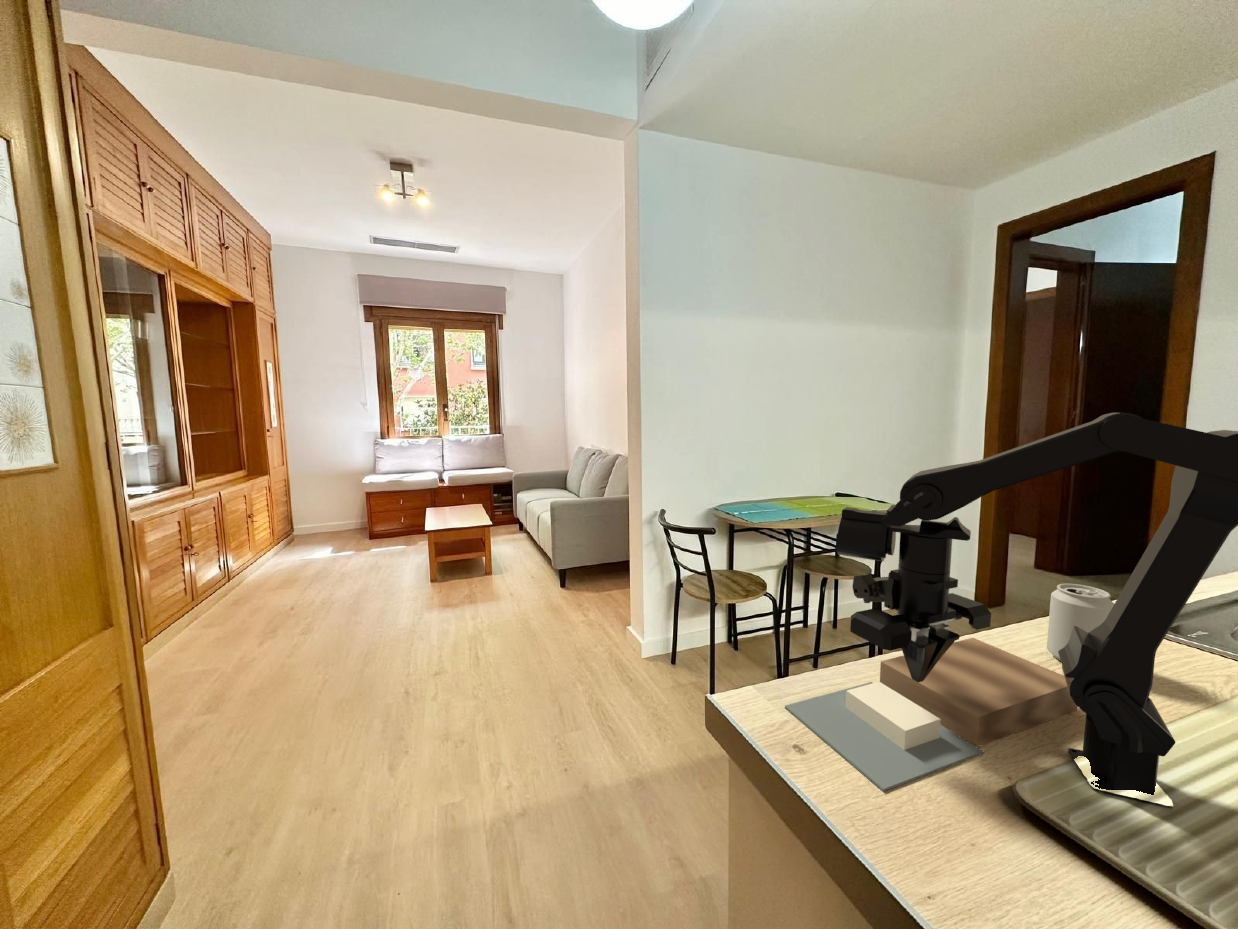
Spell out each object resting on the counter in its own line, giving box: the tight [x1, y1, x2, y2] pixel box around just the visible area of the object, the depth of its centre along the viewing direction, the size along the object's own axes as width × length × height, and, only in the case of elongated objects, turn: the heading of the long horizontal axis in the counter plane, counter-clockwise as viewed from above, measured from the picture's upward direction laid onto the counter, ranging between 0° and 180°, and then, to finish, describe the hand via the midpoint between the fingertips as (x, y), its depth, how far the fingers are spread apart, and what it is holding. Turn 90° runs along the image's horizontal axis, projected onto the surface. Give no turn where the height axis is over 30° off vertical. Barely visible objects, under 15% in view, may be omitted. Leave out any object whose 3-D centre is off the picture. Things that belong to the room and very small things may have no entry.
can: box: [1046, 583, 1115, 662], centre depth 78 cm, size 8×8×12 cm
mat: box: [784, 681, 984, 792], centre depth 62 cm, size 16×16×1 cm
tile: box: [846, 681, 941, 750], centre depth 63 cm, size 6×9×2 cm, turn 20°
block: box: [879, 637, 1078, 748], centre depth 68 cm, size 20×14×4 cm
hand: (917, 680), depth 64 cm, fingers closed
